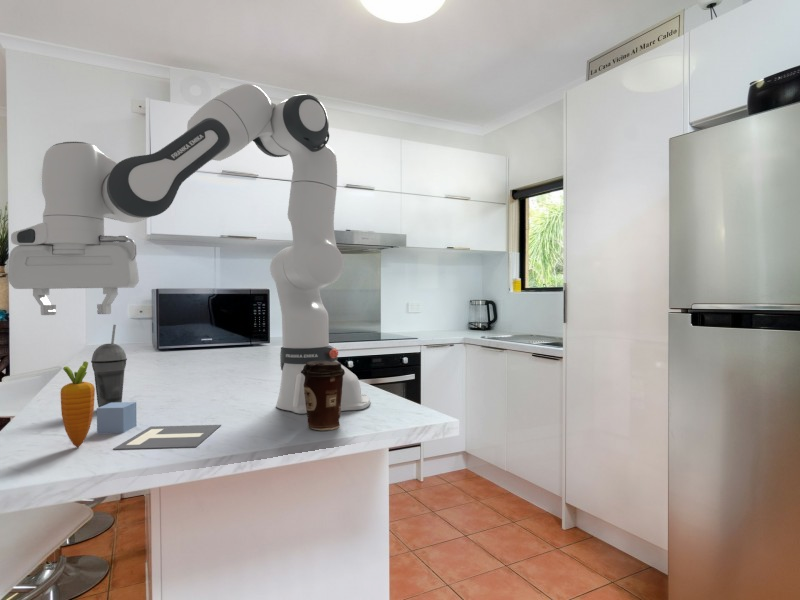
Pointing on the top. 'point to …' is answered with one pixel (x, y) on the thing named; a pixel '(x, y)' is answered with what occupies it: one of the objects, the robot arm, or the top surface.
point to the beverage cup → (109, 372)
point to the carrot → (77, 405)
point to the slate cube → (116, 417)
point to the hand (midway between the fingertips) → (76, 314)
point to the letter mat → (169, 437)
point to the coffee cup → (323, 394)
